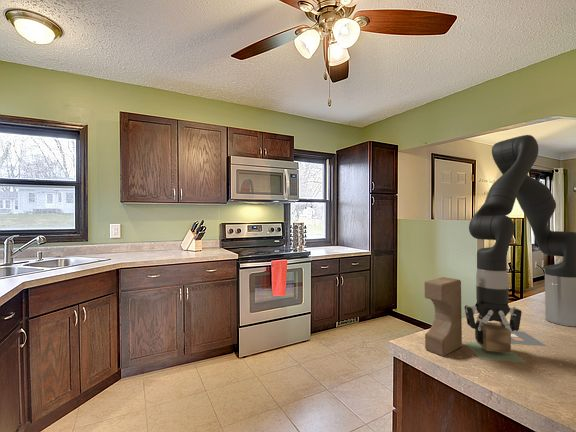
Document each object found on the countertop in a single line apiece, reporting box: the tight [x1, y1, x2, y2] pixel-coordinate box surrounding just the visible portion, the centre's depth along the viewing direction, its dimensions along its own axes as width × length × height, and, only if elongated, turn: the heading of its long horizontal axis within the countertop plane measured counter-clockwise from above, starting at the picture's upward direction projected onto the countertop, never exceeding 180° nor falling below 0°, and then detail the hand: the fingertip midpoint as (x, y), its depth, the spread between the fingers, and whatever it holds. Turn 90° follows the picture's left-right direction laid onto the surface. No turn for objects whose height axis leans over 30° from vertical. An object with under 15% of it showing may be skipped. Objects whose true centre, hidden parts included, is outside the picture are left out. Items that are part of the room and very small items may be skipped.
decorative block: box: [423, 276, 463, 357], centre depth 84 cm, size 11×6×20 cm, turn 124°
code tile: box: [511, 330, 547, 347], centre depth 91 cm, size 11×11×1 cm
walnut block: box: [475, 321, 512, 353], centre depth 81 cm, size 6×6×6 cm
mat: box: [463, 341, 528, 363], centre depth 81 cm, size 11×11×1 cm
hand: (492, 343), depth 81 cm, fingers closed on walnut block, 6 cm apart
